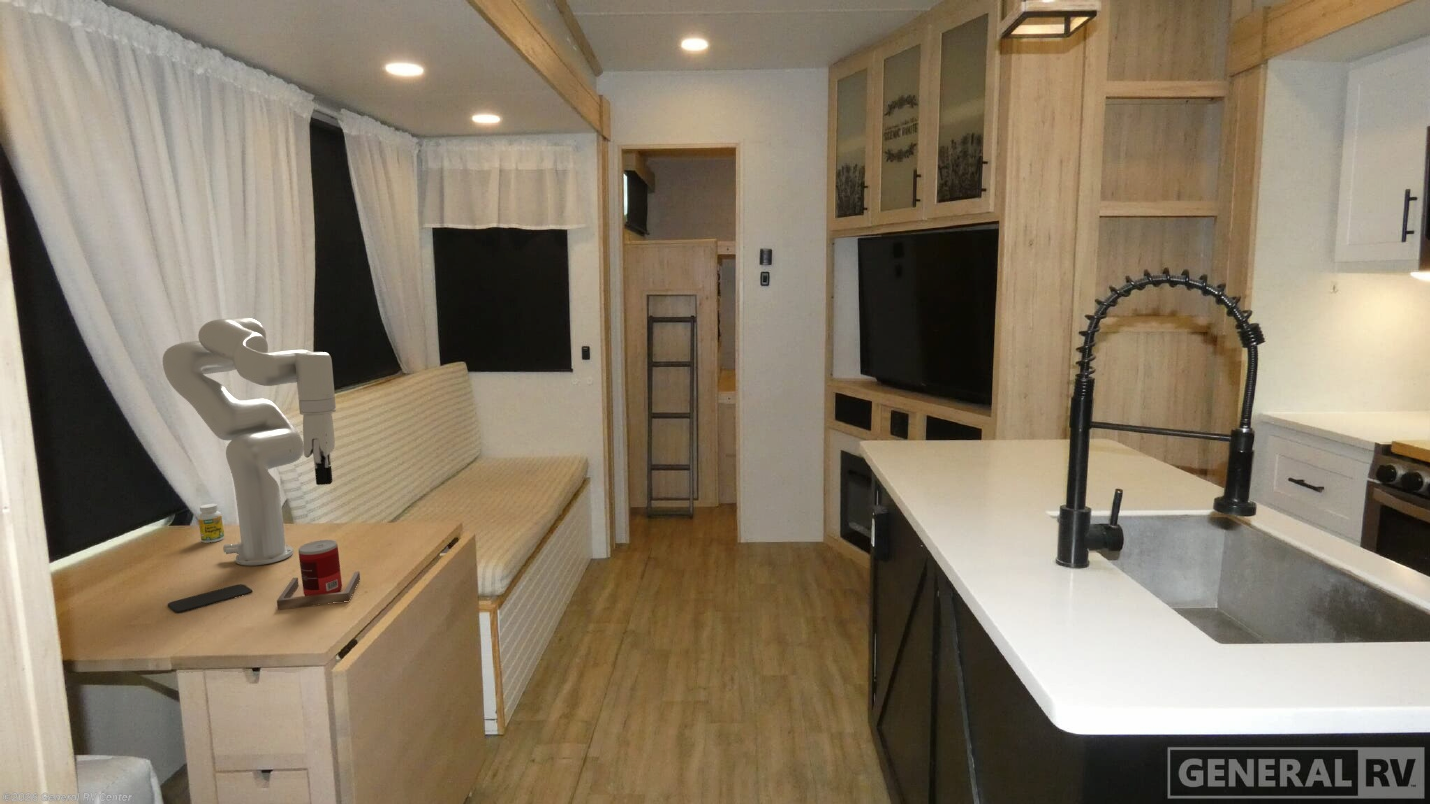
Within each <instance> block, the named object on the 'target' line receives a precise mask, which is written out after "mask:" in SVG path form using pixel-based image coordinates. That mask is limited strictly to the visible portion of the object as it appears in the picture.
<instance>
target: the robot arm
mask: <svg viewBox="0 0 1430 804" xmlns="http://www.w3.org/2000/svg"><path fill="white" fill-rule="evenodd" d="M197 338H198V340H193V341H186V342H185V341H184V342H179V343H177V344H173V345H171V346H170V347H168V348H167V349H166V350H165V351H164V353H163V356H162V368H163V372H164V375H165V378H166V380H167V381H168V383H169V384H170V386H171V387H172V388H173V390H174V391H175V392H176V393H178V395H180V396H181V397H182V398H184V400H186V402H187V403H188V404H190V405H191V406H192V407H193V409H194V410H195V412H196V413H197V414H198V415H199V416H200V418H201V419H202V420H203V421H204V423H205V424H206V425H207V427H208V428H209V429H210V431H212V433H213V434H214V435H215V436H216V437H217V438H218V439H220V440H222V441H229V443H227V446H226V448H225V457H226V461H227V464H228V467H229V469H230V473H231V477H232V479H233V480H232V481H233V486H234V493H235V500H236V508H237V518H238V525H239V534H240V541H239V542H237V543H230V544H229V543H228V544H227V543H226V544H224V545H223V546H222V547H223V548H222V549H223V553H225V554H226V555H232V554H236V557H235V562H236V563H237V564H238V565H241V566H252V567H253V566H261V565H262V566H263V565H267V564H268V565H269V564H274V563H277V562H280V561H283V560H285V559H288V558H289V557H291V556H292V555H294V547H292V546H290V545H286V538H285V537H286V535H285V527H284V519H283V518H284V517H283V508H282V500H281V492H280V486H279V484H278V481H277V480H276V479H275V477H274V476H272V475H271V474H270V472H269V470H270V469H271V470H272V469H274V468H279V467H282V466H287V465H291V464H293V463H296V462H297V461H299V460H300V459H301V458H302V456H303V455H304V457H305V458H307V459H309V458H310V456H313V463H314V474H315V483H316V485H317V486H323V485H331V484H332V482H333V471H332V470H333V469H332V463H331V459H332V458H331V453H332V452H333V450H334V449H335V446H336V443H335V429H334V420H333V413H336V411H337V408H336V407H337V405H336V395H335V394H336V393H335V385H334V384H335V383H334V373H333V372H334V371H333V362H332V361H333V360H332V357H331V355H330V354H329V353H328V352H325V351H324V352H323V351H312V350H311V351H310V350H307V349H292V350H291V349H290V350H280V351H272V352H270V351H269V345H268V342H267V334H266V329H265V328H264V326H263V325H262V324H261V323H260V322H259V321H257V320H256V319H254V318H250V317H238V318H237V317H236V318H220V319H213V320H210V321H207V322H206V323H205V324H203V325H202V326H201V327H200V329H199V330H198V337H197ZM268 351H269V352H268ZM231 371H236V372H237V373H238V375H239V376H240V377H241V378H243V379H244V380H247V381H249V382H251V383H254V384H256V385H259V386H264V387H272V386H273V387H275V386H280V385H285V384H295V383H296V384H297V385H296V388H297V396H298V409H299V415H302V435H303V436H302V437H303V438H302V437H301V435H300V433H299V432H298V431H297V429H296V427H294V426H293V424H292V423H291V422H290V421H289V419H288V418H287V417H286V416H285V414H284V413H283V412H282V411H281V409H280V408H279V407H278V406H277V404H275V403H274V402H273V401H271V400H270V399H266V398H262V397H256V398H255V397H254V398H250V399H249V398H248V399H237V398H236V397H234V395H232V394H231V393H230V391H229V390H228V389H227V387H225V386H224V385H223V384H221V382H219V381H217V380H215V379H212V378H210V377H208V376H206V375H208V374H215V373H216V374H217V373H225V372H231Z"/></svg>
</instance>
